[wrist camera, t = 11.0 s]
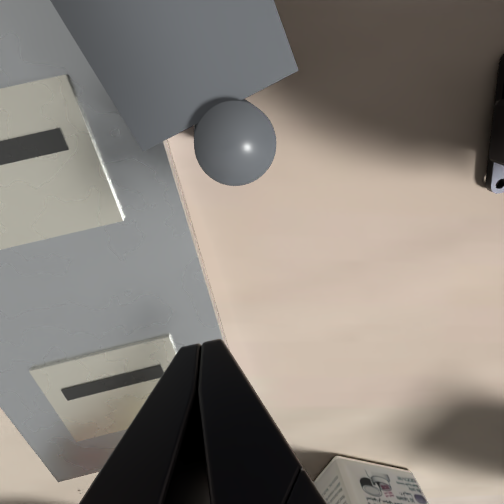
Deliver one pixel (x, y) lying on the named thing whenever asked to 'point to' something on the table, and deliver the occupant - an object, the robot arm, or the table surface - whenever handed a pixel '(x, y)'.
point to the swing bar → (189, 73)
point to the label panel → (84, 252)
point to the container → (367, 483)
